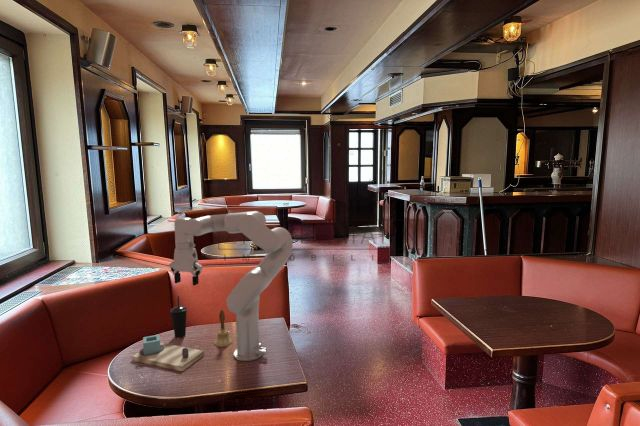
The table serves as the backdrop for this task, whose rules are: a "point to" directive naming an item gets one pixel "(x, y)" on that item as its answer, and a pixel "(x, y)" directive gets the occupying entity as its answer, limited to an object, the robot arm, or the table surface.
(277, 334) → the table surface
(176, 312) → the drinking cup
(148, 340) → the collar
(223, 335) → the hand bell
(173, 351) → the base board
